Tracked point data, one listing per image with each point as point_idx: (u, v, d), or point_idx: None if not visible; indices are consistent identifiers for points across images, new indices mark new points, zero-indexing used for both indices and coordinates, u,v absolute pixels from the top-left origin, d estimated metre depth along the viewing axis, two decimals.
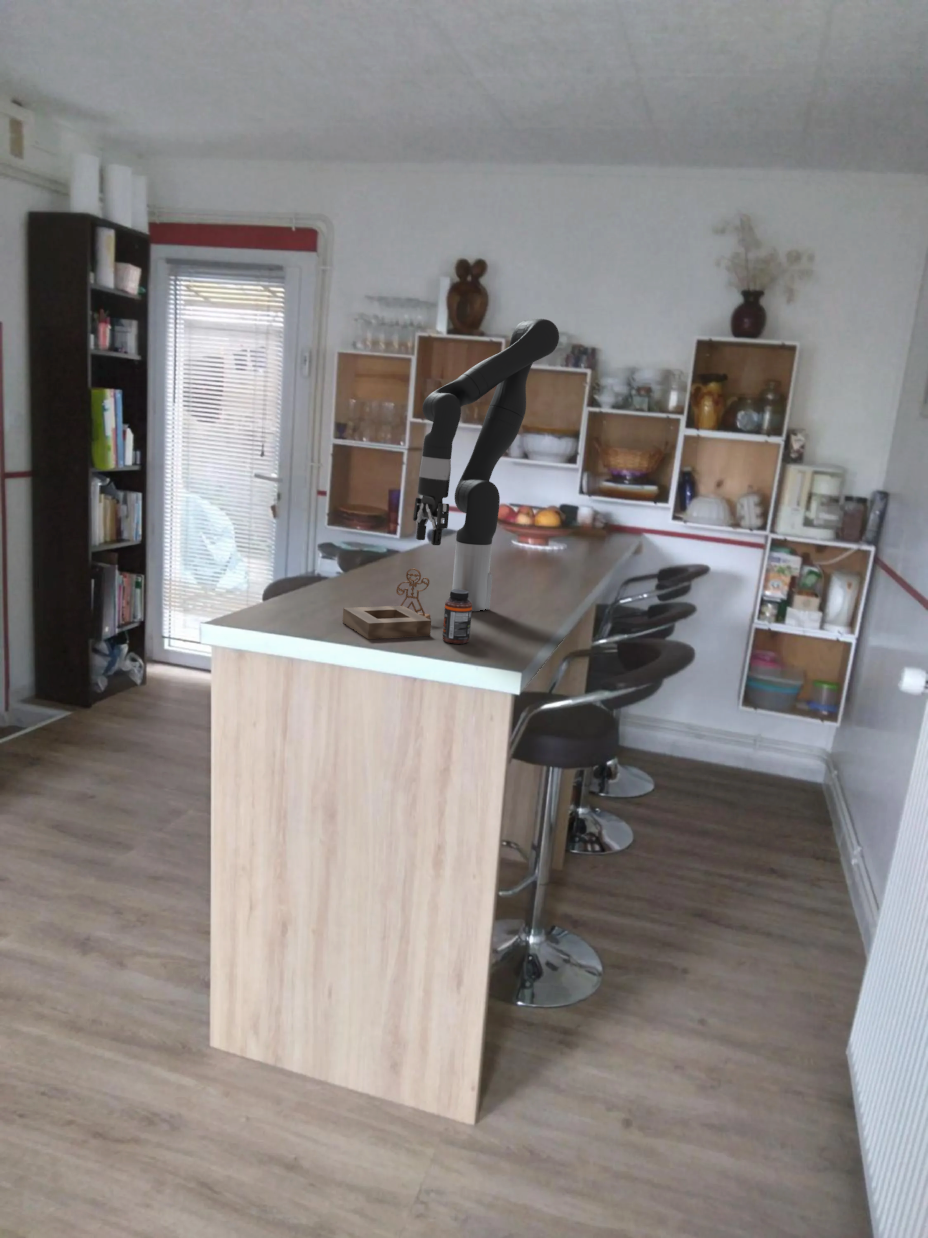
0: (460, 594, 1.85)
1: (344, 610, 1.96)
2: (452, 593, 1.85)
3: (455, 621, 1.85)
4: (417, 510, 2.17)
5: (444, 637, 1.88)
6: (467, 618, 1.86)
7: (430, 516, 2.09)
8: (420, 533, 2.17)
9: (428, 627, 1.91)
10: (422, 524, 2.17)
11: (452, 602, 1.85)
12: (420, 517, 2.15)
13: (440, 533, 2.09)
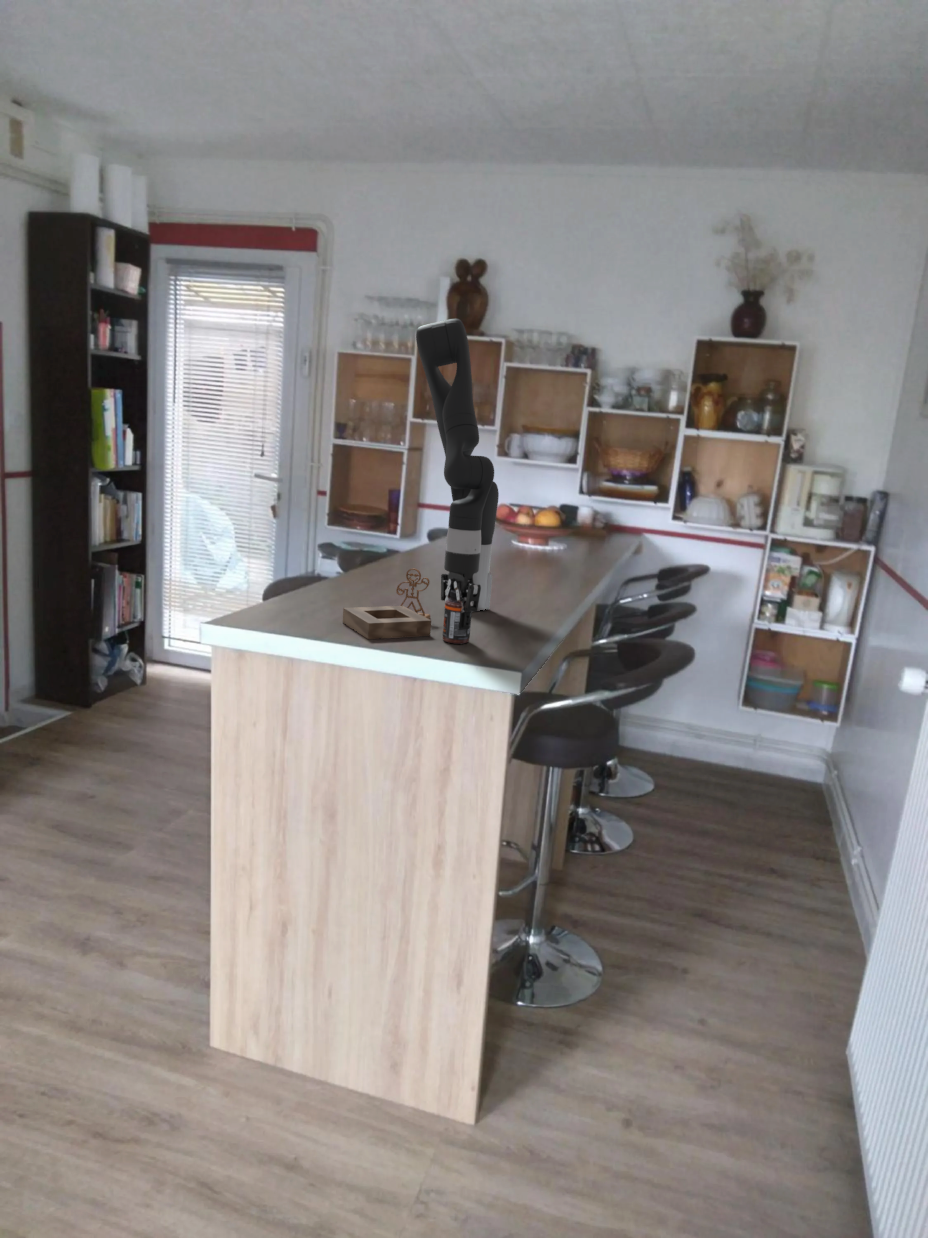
0: None
1: (344, 610, 1.96)
2: (452, 593, 1.85)
3: (455, 621, 1.85)
4: (444, 588, 1.91)
5: (444, 637, 1.88)
6: None
7: (458, 596, 1.84)
8: None
9: (428, 627, 1.91)
10: None
11: (452, 602, 1.85)
12: (449, 596, 1.88)
13: (469, 616, 1.84)
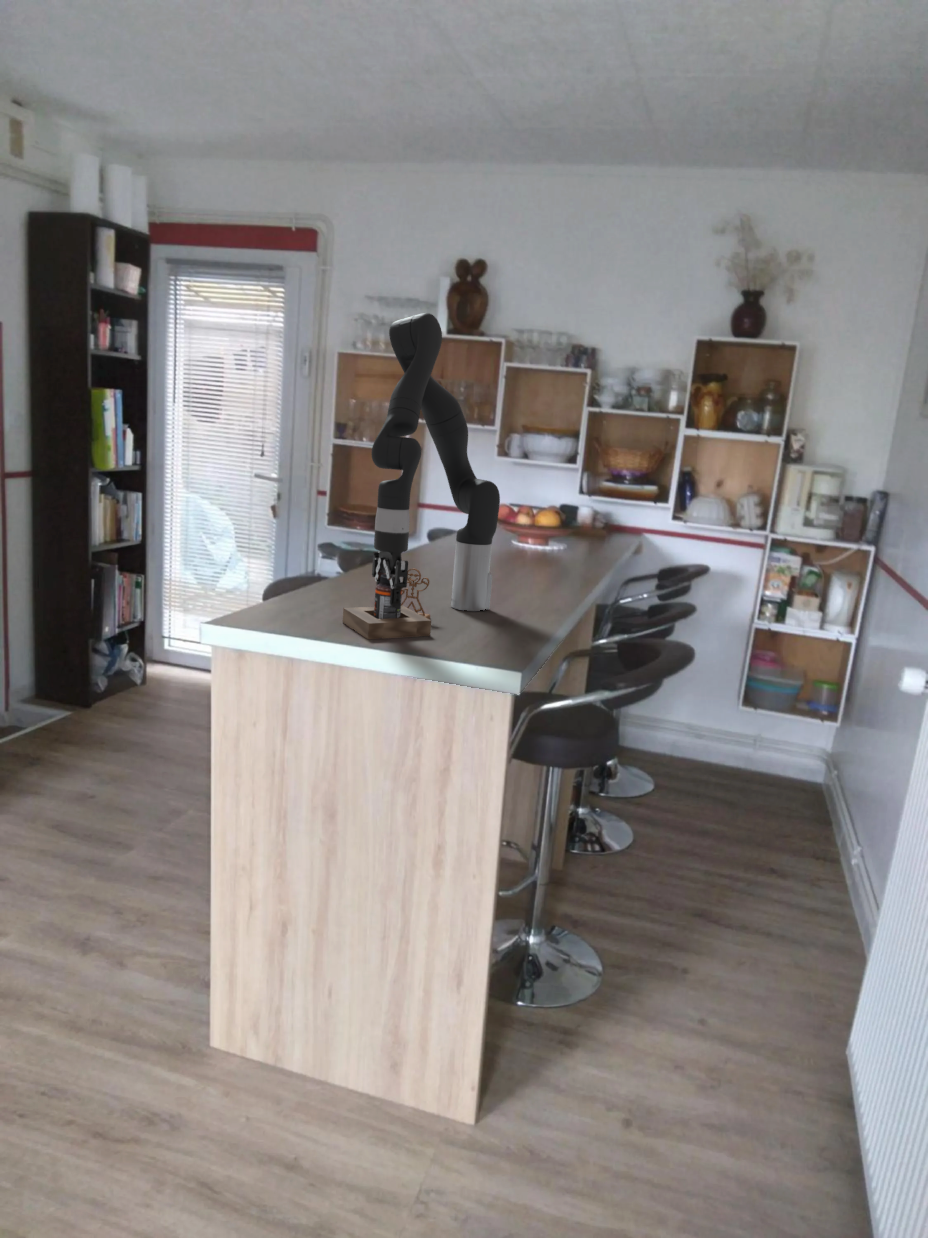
0: None
1: (344, 610, 1.96)
2: (382, 578, 1.91)
3: (384, 605, 1.90)
4: (375, 565, 1.96)
5: None
6: None
7: (388, 574, 1.88)
8: None
9: (428, 627, 1.91)
10: None
11: (382, 586, 1.90)
12: (379, 573, 1.94)
13: (399, 592, 1.89)
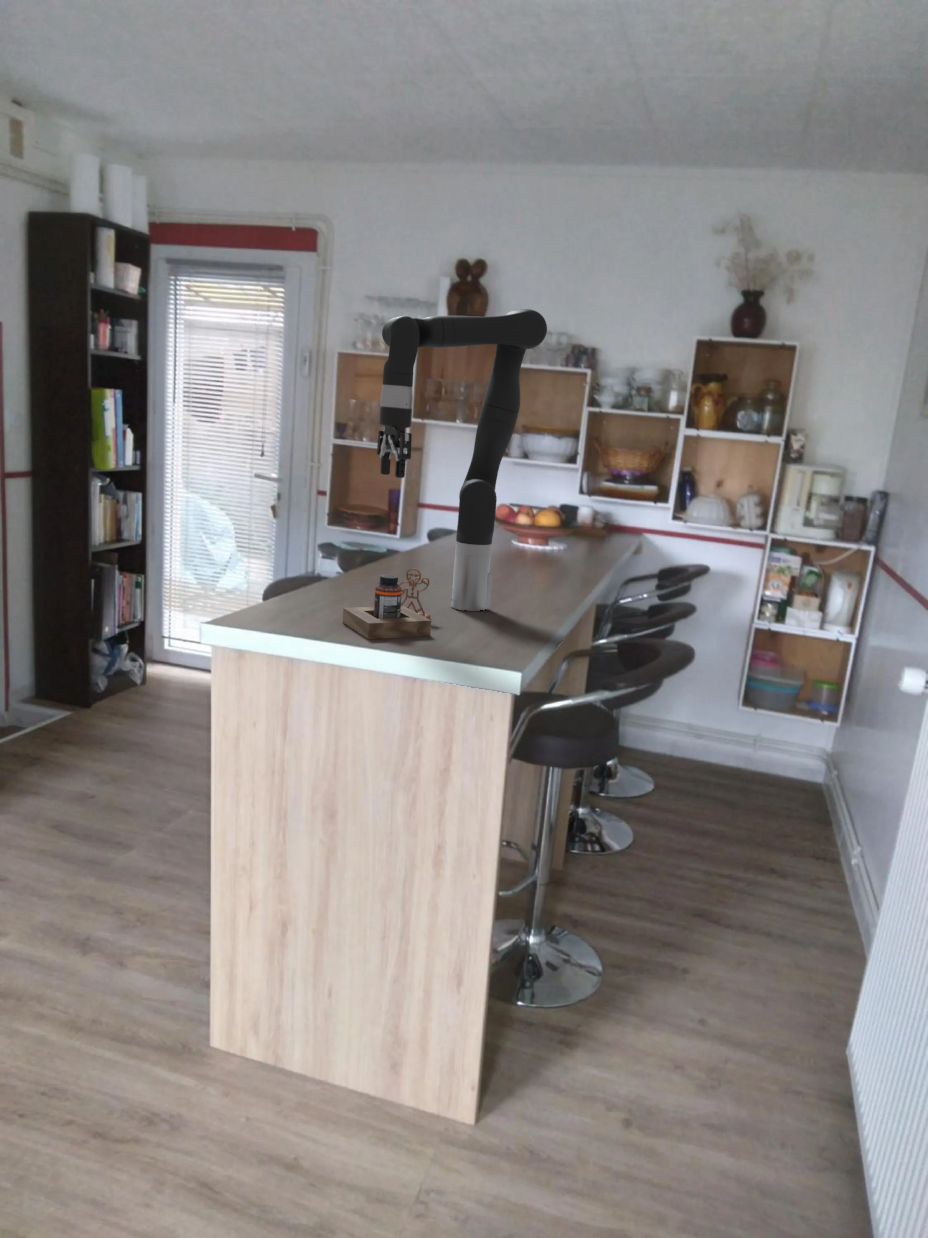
0: (389, 579, 1.90)
1: (344, 610, 1.96)
2: (381, 578, 1.91)
3: (384, 605, 1.90)
4: (380, 443, 2.08)
5: None
6: (396, 602, 1.91)
7: (392, 447, 2.00)
8: (384, 467, 2.08)
9: (428, 627, 1.91)
10: (386, 458, 2.08)
11: (382, 586, 1.90)
12: (383, 450, 2.06)
13: (403, 464, 2.00)
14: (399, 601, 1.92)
